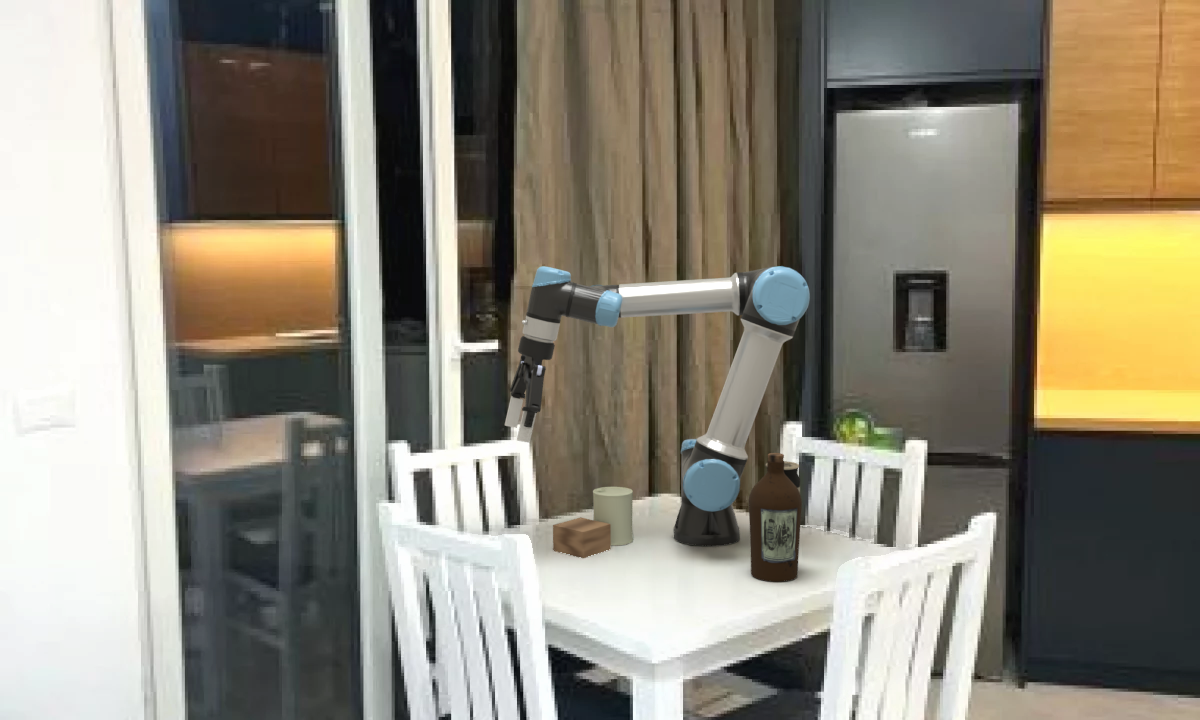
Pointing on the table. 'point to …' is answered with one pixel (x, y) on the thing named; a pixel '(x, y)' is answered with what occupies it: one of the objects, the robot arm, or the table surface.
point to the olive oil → (775, 524)
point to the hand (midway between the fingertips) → (516, 433)
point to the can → (615, 512)
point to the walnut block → (581, 537)
